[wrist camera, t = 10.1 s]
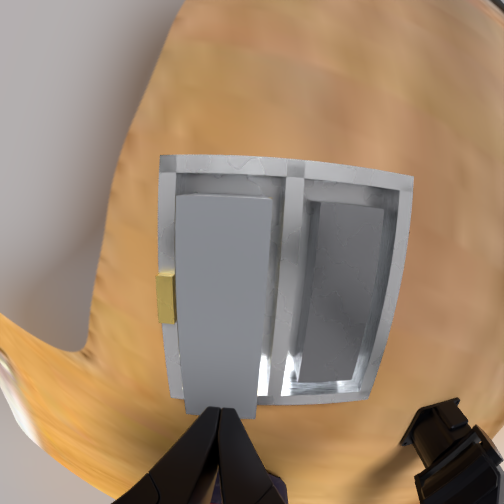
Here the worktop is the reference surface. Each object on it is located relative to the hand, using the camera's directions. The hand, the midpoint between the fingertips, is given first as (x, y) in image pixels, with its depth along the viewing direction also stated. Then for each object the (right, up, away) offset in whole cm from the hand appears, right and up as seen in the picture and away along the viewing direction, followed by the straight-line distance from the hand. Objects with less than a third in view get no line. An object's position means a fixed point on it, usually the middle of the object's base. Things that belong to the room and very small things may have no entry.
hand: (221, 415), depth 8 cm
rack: (+3, +3, +12) cm, 12 cm away
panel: (-1, +3, +11) cm, 11 cm away
